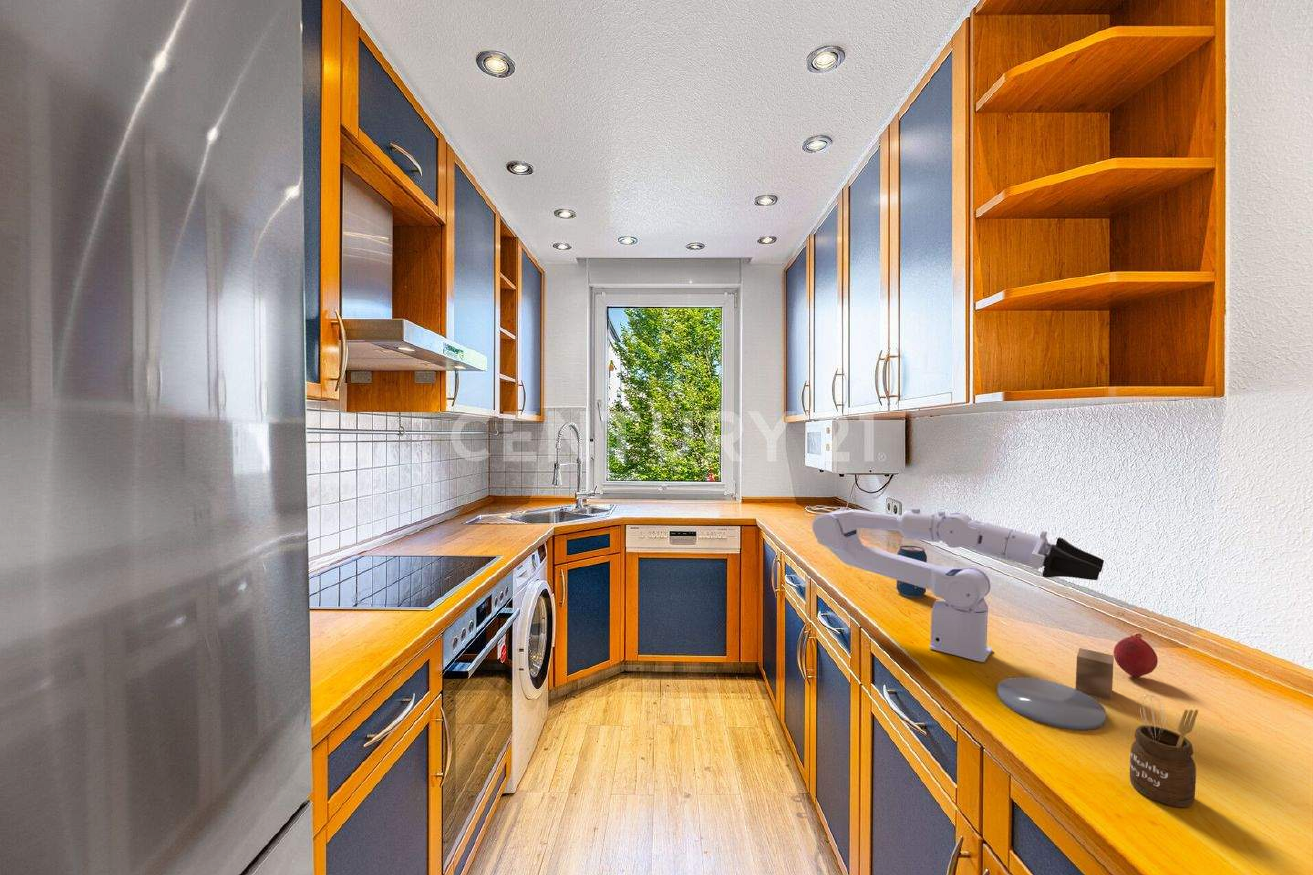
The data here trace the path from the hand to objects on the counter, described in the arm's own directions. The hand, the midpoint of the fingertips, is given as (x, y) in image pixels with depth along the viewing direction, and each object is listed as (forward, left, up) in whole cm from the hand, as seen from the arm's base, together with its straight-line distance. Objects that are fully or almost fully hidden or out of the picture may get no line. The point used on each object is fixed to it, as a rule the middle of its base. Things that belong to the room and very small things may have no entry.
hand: (1101, 569), depth 95 cm
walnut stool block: (0, -3, -20) cm, 20 cm away
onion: (+5, +8, -20) cm, 22 cm away
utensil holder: (+8, -30, -20) cm, 37 cm away
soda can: (-39, +30, -20) cm, 54 cm away
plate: (-5, -14, -20) cm, 25 cm away
